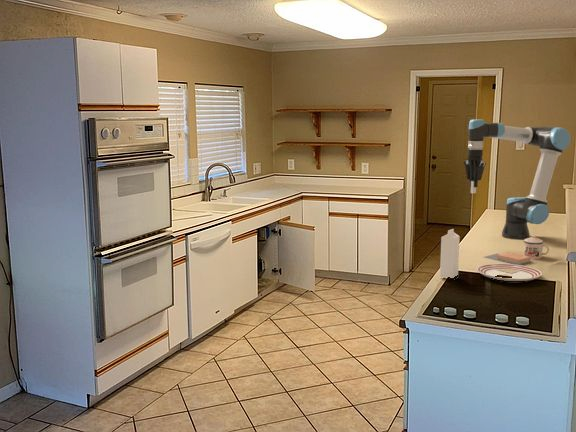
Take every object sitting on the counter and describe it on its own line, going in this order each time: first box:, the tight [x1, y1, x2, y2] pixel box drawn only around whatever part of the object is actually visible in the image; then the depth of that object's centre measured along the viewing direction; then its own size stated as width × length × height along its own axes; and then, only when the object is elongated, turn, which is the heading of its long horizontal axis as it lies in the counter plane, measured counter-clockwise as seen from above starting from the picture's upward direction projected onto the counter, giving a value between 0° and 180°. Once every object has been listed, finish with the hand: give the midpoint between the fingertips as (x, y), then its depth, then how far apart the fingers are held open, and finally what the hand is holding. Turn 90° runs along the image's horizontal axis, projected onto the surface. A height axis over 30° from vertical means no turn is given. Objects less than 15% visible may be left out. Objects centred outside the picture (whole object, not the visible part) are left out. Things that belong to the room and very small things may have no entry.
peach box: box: [496, 251, 531, 265], centre depth 286 cm, size 2×9×12 cm
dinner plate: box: [476, 263, 543, 282], centre depth 263 cm, size 27×27×3 cm
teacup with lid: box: [522, 234, 550, 260], centre depth 292 cm, size 12×9×12 cm
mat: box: [483, 253, 534, 266], centre depth 290 cm, size 20×12×1 cm, turn 35°
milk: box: [439, 228, 461, 278], centre depth 261 cm, size 6×6×22 cm
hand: (473, 193), depth 315 cm, fingers closed
